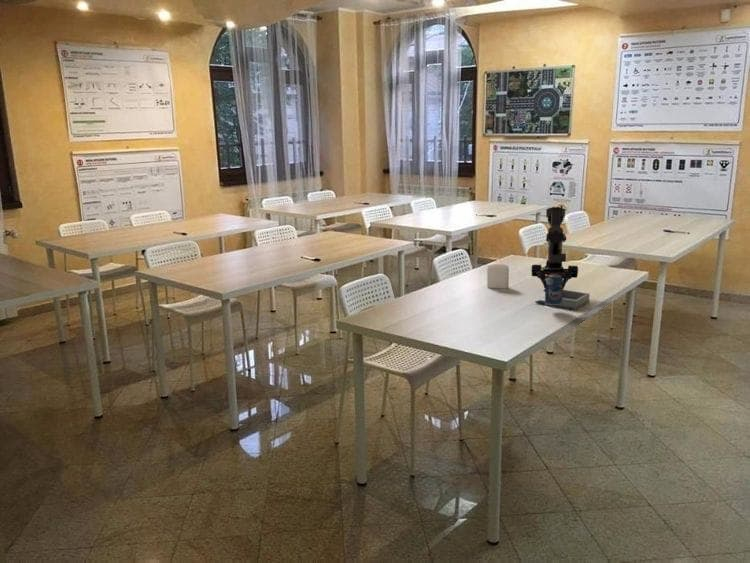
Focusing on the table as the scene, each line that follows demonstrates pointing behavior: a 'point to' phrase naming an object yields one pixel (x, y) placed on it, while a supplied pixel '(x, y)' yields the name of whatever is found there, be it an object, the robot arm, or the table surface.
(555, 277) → the soda can
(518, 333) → the table surface
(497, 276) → the photo printer
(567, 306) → the tray
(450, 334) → the table surface
